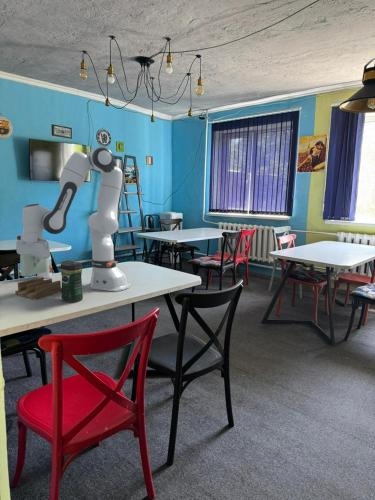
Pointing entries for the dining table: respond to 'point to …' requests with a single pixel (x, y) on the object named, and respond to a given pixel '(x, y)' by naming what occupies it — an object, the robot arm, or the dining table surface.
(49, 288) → the rack
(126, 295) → the dining table surface
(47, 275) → the milk bottle
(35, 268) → the tall mint green block
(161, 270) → the dining table surface
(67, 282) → the coffee jar
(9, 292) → the dining table surface
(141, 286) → the dining table surface
